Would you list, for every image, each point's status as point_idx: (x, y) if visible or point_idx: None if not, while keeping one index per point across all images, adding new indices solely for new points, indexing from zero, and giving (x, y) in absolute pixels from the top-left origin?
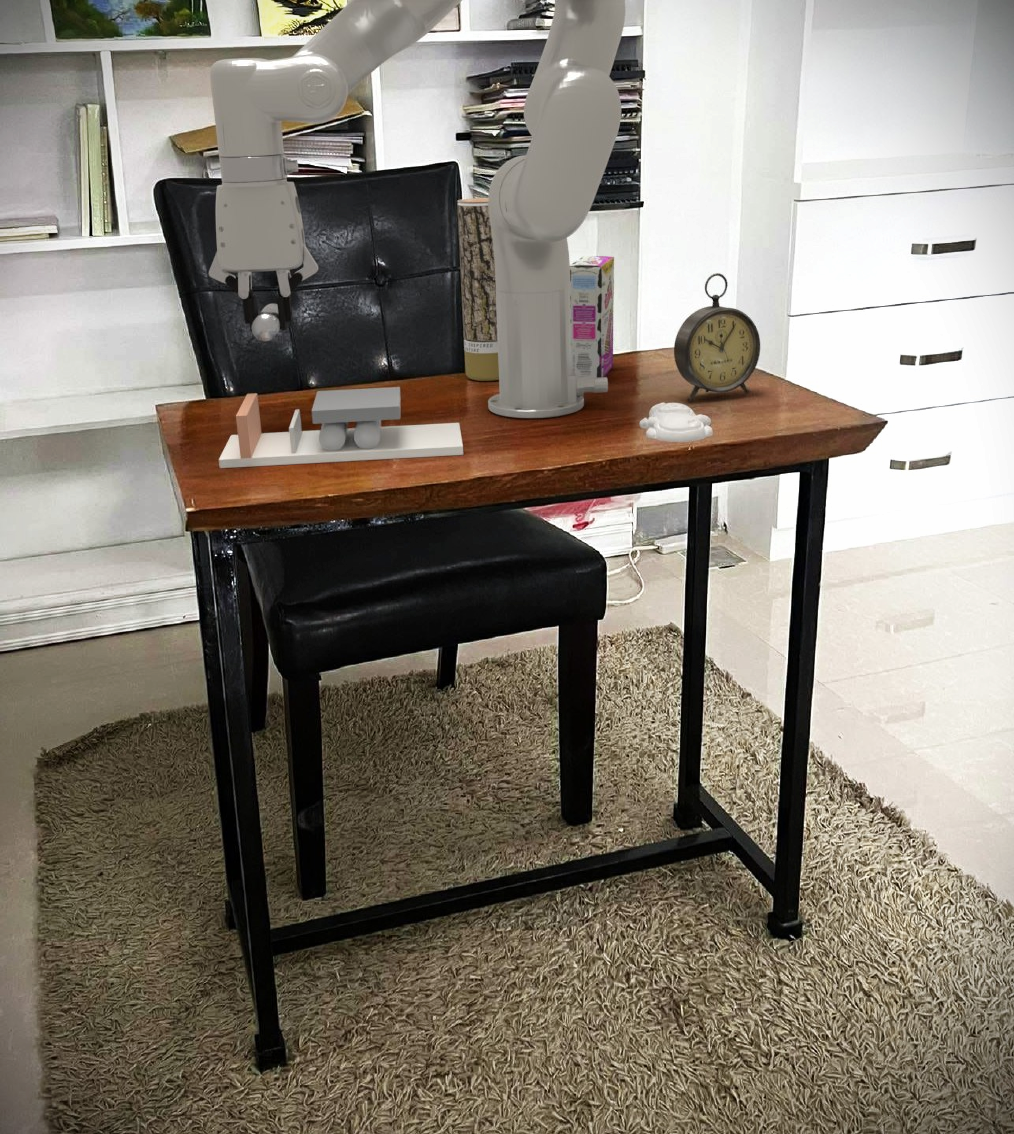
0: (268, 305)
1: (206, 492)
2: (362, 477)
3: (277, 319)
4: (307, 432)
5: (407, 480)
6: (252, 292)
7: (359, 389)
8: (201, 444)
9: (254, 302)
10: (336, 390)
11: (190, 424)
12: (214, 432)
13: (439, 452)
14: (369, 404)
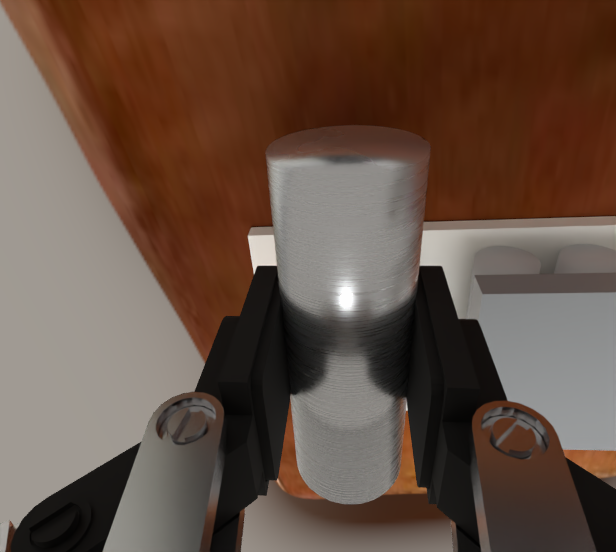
0: (324, 232)
1: (285, 455)
2: None
3: (401, 422)
4: (426, 243)
5: (577, 461)
6: (252, 474)
7: (610, 297)
8: (184, 225)
9: (276, 445)
10: (539, 297)
11: (68, 14)
12: (175, 122)
13: None
14: (596, 427)
